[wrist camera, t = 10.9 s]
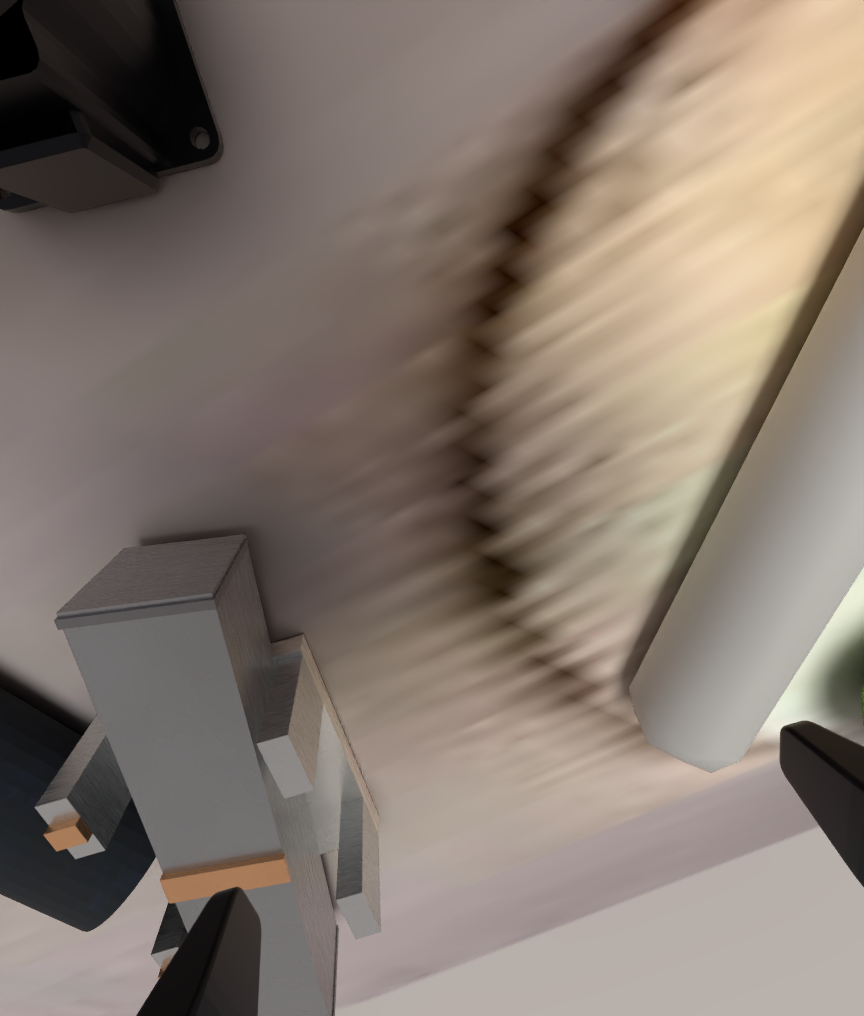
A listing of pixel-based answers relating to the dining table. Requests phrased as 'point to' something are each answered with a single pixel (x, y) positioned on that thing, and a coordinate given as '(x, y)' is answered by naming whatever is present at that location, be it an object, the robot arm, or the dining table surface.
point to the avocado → (863, 699)
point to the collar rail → (295, 767)
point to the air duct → (207, 749)
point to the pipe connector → (19, 827)
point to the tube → (768, 554)
